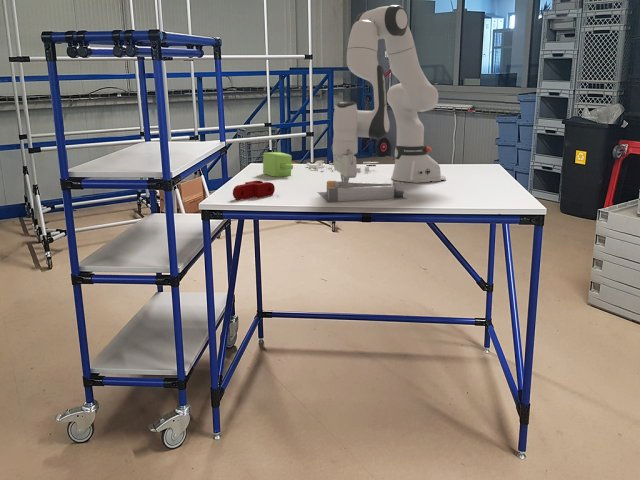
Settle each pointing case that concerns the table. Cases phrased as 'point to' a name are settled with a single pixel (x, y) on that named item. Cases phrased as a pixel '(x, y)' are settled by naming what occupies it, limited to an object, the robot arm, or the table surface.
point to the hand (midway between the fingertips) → (344, 186)
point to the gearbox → (277, 164)
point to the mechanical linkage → (253, 190)
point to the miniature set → (320, 163)
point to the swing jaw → (354, 184)
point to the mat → (325, 194)
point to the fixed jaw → (366, 193)
